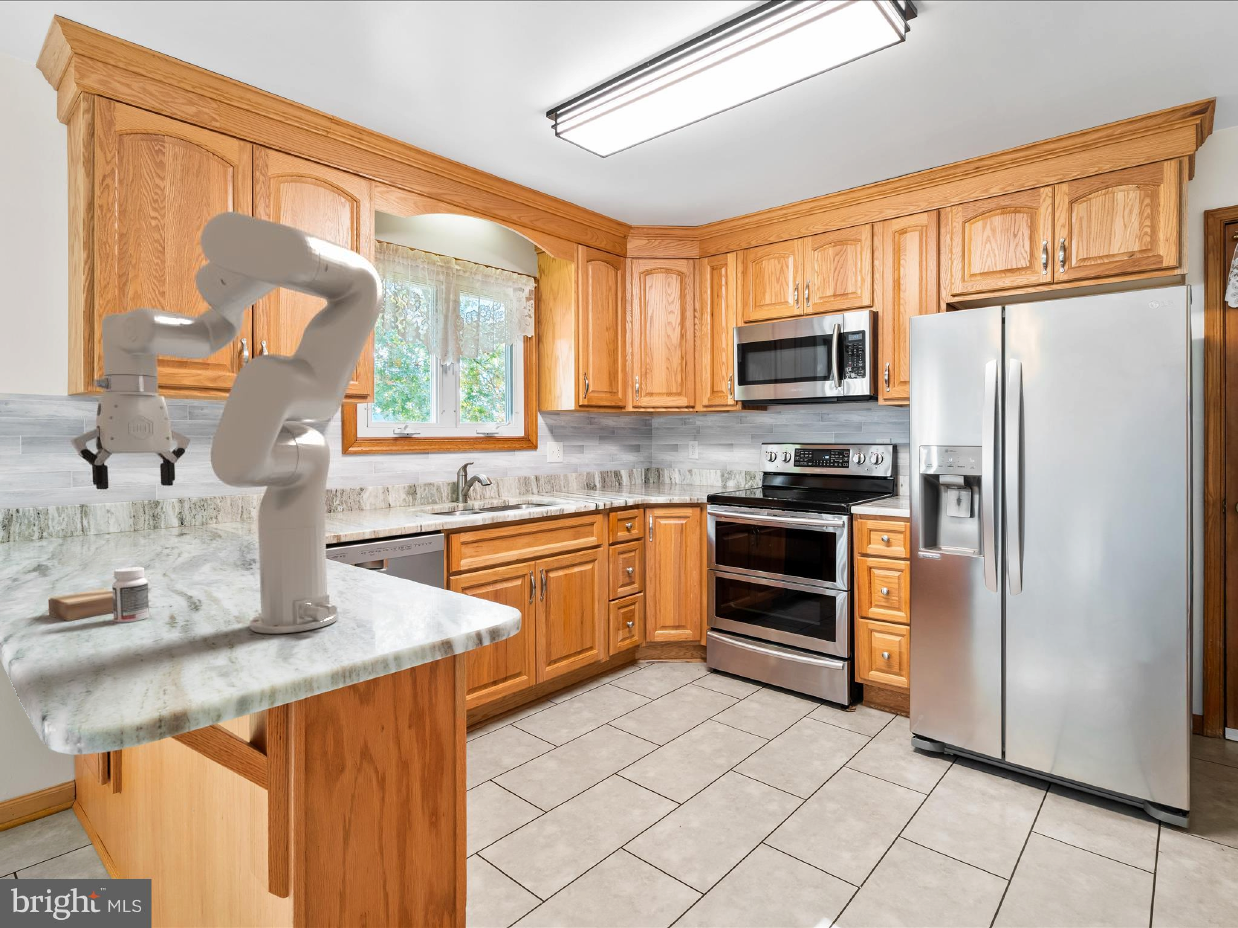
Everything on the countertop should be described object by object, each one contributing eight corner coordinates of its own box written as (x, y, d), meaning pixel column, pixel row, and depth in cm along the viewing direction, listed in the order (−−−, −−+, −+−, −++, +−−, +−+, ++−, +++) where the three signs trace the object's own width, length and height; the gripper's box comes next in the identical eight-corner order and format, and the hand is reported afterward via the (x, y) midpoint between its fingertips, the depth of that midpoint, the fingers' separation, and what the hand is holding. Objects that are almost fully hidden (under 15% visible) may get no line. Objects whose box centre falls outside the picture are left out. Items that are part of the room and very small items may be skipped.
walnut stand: (124, 610, 118) (123, 593, 118) (67, 621, 111) (67, 603, 111) (104, 605, 122) (103, 588, 122) (49, 615, 115) (48, 597, 115)
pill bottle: (156, 615, 114) (154, 566, 113) (133, 623, 109) (131, 571, 109) (130, 615, 114) (128, 566, 114) (106, 622, 110) (104, 571, 109)
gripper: (78, 383, 107) (82, 491, 107) (196, 389, 121) (200, 484, 122) (61, 386, 111) (65, 490, 112) (177, 391, 125) (180, 483, 126)
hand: (135, 487), depth 117 cm, fingers open, 9 cm apart
